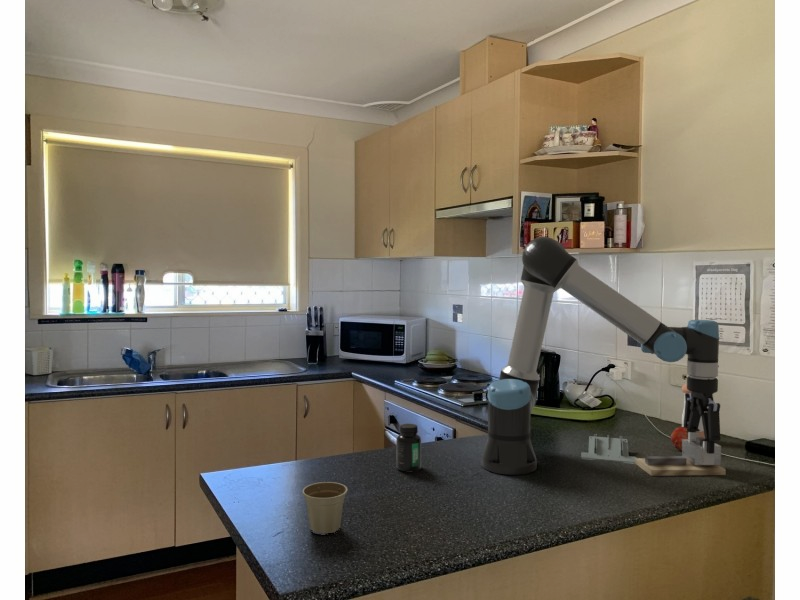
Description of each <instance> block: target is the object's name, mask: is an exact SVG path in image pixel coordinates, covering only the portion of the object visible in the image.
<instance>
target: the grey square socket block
mask: <svg viewBox="0 0 800 600" xmlns="http://www.w3.org/2000/svg"><path fill="white" fill-rule="evenodd" d="M681 456H684V457H685V458H687V459H686V460H688V461H689V462H691V463H693V464H694V465H703V445H697V444H696V439H682V451H681ZM714 465H719V466H720V465H722V445H720V444H718V443H716V442H715V447H714Z"/></svg>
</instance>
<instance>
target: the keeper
mask: <svg viewBox="0 0 800 600" xmlns="http://www.w3.org/2000/svg"><path fill="white" fill-rule="evenodd" d="M702 439H705V438H703V437H696V444H697V445H703V440H702ZM686 459H687V458H685V457H684V456H682V455H670V456H669V455H658V456H656V455H654V456H653V455H651V456H650V455H649V456H648V455H647V456H644V457H643V458H640V457H636V458H635V465H637V466H638V467H639V468H640V469H642V470H643V471H644V472H646V473H647V474H648V475H650V476H651V477H653V476H654V477H657V476H658V477H659V476H661V477H662V476H666V477H667V476H726V473H727V472H726V471H727V470H726V468H725V467H723V466H720V465H694V464H693V463H691V462H689V461H688V460H686Z"/></svg>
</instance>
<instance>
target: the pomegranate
mask: <svg viewBox="0 0 800 600" xmlns="http://www.w3.org/2000/svg"><path fill="white" fill-rule="evenodd" d="M670 439H671V442H672V443H673V446H674V448H675V449H677V450H679V451H681V452H682V439H688V431H687V428H685V427H682V426H678V427H675V429H674V430H673V431H672V433H671V435H670Z"/></svg>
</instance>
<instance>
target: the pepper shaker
mask: <svg viewBox="0 0 800 600" xmlns="http://www.w3.org/2000/svg"><path fill="white" fill-rule="evenodd" d="M681 391H682V393H684V395H683V398H684V399H683V410H682V415H681V427H684V415H685V403H686V401H685V394H690V393H691V392H692V391H689V390H688V389H687V382H686V383H684V384H682V386H681ZM690 402H691V401H690ZM698 429H699V430H700V431H696V432H698V433H699V437H703V438H705V435H704V429H703V423H702V417H701V418H700V422H699V426H698Z"/></svg>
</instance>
